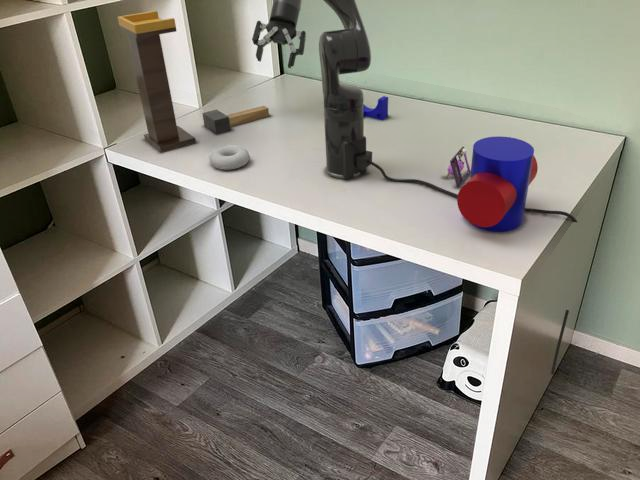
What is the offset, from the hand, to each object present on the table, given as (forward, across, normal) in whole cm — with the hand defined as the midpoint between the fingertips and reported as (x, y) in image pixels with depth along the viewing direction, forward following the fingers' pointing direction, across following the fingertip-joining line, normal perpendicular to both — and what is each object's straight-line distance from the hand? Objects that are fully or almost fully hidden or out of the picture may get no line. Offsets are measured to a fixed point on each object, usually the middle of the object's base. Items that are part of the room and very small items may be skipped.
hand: (274, 63), depth 172 cm
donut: (+32, -3, -14) cm, 35 cm away
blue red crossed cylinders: (+35, +60, -39) cm, 80 cm away
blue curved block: (+6, +28, +11) cm, 30 cm away
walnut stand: (+27, -23, -1) cm, 36 cm away
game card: (+25, +52, -24) cm, 63 cm away
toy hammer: (+16, -8, +9) cm, 20 cm away
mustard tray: (+4, -29, -19) cm, 35 cm away
